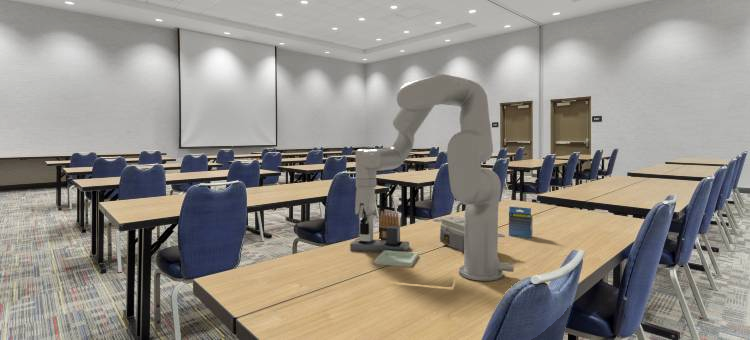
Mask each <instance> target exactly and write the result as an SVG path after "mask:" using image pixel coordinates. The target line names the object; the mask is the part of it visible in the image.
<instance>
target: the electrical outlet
mask: <svg viewBox="0 0 750 340" xmlns="http://www.w3.org/2000/svg"><path fill="white" fill-rule="evenodd" d="M432 221H433V222H436V223H441V224H440V228H439V229H440V233H439V234H440V235H439V239H440V240H439V242H440V243H442V244H443V245H446V246H448V247H450V248H452V249H455V250H458V251H460V252H464V227H465V217H461V216H459V215H458V216H451V217H450V216H449V217H444V218H439V219H437V218H434V219H433V220H432ZM505 237H506V235H505V234H502V233H498V238H505Z"/></svg>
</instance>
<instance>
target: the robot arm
mask: <svg viewBox="0 0 750 340" xmlns="http://www.w3.org/2000/svg"><path fill="white" fill-rule="evenodd" d="M488 100H489V99H488V96H487V93H486V91H485V89H484V88H483V87H482V85H480V84H479V83H477V82H476V81H473V80H470V79H467V78H463V77H459V76H453V75H449V74H445V73H444V74H441V73H440V74H434V75H431V76H427V77H425V78H420V79H417V80H414V81H410V82H407V83H405V84H404V85H402V86H401V87H400V88H399V90H398V92H397V95H396V102H397V105H398V107H399V108H400V109H399V111H398V112H397V114H396V116H395V117H394V118H393V120H392V125H393V127H394V129H395V130H396V131H397V132H398V134H397V137H396V139H395V141H394V143H393V144H392V145H391V147H390V148H389V147H388V148H387V147H386V148H385V147H384V148H383V147H382V148H374V149H373V148H359V149H357V150H356V151H355V154H354V155H355V159H354V160H355V187H356V191H355V208H354V209H355V210H354V211H355V212H354V213H355V215H356V216H358V218H359V219H360V234H364V235H368V234H369V224H368V215H369V214H371V213H372V215H373V216H374V212H375V211H376V191H375V189H376V188H377V172H378V171H386V170H387V171H388V170H394V169H397V168H399V167H400V166H401V165H403V163H404V162H405V161H406V160H407V158H408V157H409V155H410V154H411V152H412V150H413V147H414V143H415V135H416V133H417V132H418V130H419V128H420V127H421V126H422V125H423V123H424V121H425V120H426V119H427V117H428V116H429V114H430V112H431V111H432V110H433V108H434V107H435V106H438V105H443V106H445V105H446V106H456V107H460V112H459V124H460V125H459V126H460V131H458V132H456V133H455V134H454V135H453V136H451V138H450V139H449V142H448V144H447V146H446V147H447V148H446V159H447V168H448V169H447V170H448V177H449V178H448V179H449V185H450V186H449V187H450V191H451V193H452V196H453V198H454V199H455V200H456V201H457V202H458V203H460V204H462V205H465V208H464V218H465V227H464V251H463V253H464V254H463V255H464V258H463V263H464V264H463V265H461V266H460V267H459V268H458V274H460V276H462V277H463V278H466V279H468V280H474V281H481V282H482V281H483V282H490V281H497V280H499V279H501V278H502V277H503V274H504V273H503V272H510V273H514V270H515V269H514V264H510V263H509V262H502V261H499V257H498V242H499V241H498V239H499V237H498V234H499V233H498V232H499V228H498V227H499V226H498V223H499V207H500V206H499V205H500V198H501V193H502V192H501V191H502V190H501V189H502V184H501V180H500V177H499V175H498V174H497V173H496V172H495V171H493V170H492V169H490V168H487V167H482V166H481V165H482V164H484V163H485V162H486V163H487V161H489V160H490V159H491V157H492V155H493V153H494V145H493V136H492V128H491V119H490V113H489V111H490V109H489V101H488ZM364 213H366V215H363V214H364ZM365 217H366V219H365ZM359 219H358V220H359Z"/></svg>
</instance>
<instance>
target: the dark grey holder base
mask: <svg viewBox="0 0 750 340" xmlns="http://www.w3.org/2000/svg"><path fill="white" fill-rule="evenodd" d="M349 248H350V249H349V250H350V251H351V252H352V251H354V252H355V251H356V252H365V253H380V254H381V253H382V252H383V251H384V250H389V251H403V252H409V249H410V241H406V240H405V241H403V240H401V226H400V225H399V226H388V227H387V228H386V240H379V239H374V238H373V239H372V240H371V241H360V240H359V238H358V237H357V238H356V239H355V240H353V241H352V242H350V244H349Z"/></svg>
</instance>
